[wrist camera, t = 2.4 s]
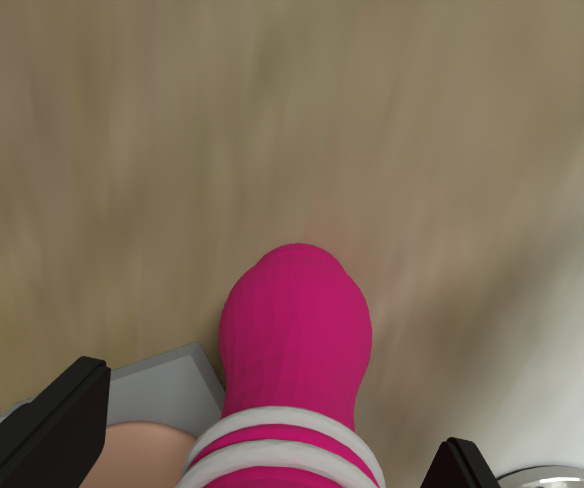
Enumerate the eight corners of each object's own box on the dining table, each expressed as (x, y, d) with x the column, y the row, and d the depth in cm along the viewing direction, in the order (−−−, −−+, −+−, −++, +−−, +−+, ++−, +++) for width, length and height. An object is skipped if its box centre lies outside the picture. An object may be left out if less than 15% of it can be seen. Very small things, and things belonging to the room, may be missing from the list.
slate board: (298, 532, 25) (297, 565, 23) (134, 570, 27) (120, 603, 25) (198, 341, 21) (186, 360, 19) (16, 403, 23) (-12, 426, 21)
